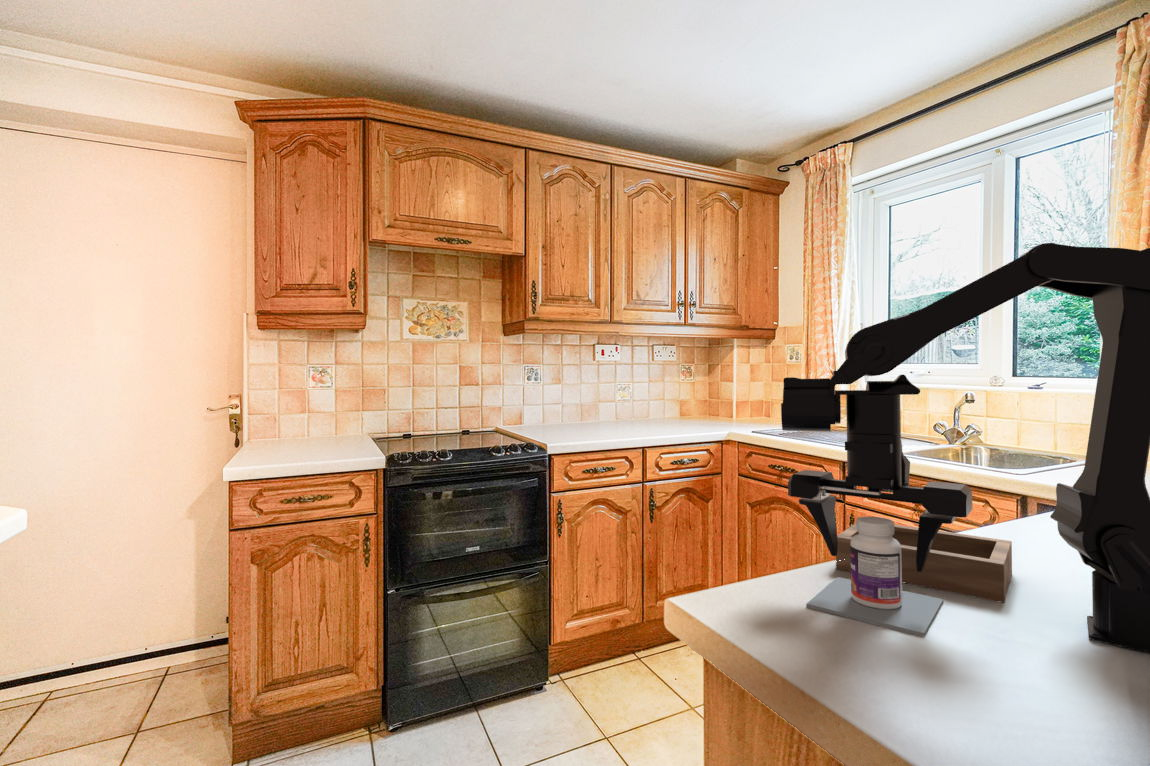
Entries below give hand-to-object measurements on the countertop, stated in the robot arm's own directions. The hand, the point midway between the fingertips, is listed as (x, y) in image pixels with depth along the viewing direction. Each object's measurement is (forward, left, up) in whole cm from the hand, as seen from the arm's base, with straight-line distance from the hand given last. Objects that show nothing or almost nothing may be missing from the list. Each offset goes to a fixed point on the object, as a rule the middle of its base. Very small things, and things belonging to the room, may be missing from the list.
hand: (875, 563), depth 66 cm
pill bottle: (0, 0, -5) cm, 5 cm away
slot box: (+17, -2, -5) cm, 18 cm away
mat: (0, 0, -5) cm, 5 cm away
